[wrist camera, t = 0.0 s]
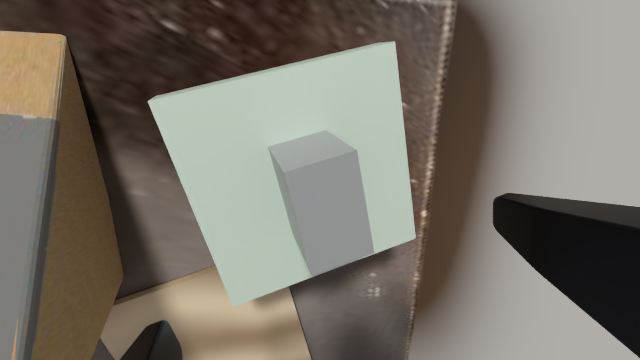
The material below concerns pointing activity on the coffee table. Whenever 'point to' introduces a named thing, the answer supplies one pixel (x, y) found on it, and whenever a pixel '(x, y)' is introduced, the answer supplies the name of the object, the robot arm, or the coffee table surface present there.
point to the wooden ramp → (50, 208)
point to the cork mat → (210, 321)
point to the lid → (293, 166)
